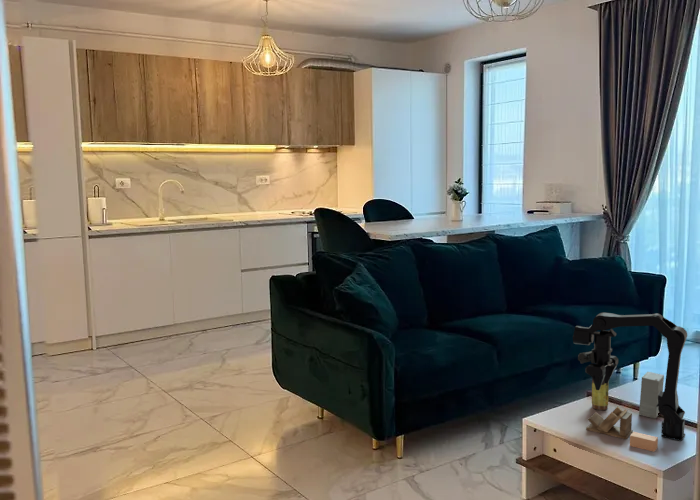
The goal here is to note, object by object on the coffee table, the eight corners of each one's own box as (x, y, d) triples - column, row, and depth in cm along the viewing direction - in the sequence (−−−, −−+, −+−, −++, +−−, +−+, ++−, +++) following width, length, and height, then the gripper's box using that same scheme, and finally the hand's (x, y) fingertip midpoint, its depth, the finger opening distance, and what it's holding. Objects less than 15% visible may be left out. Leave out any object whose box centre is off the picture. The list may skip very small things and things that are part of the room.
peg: (657, 448, 220) (657, 437, 219) (654, 452, 216) (654, 441, 216) (633, 442, 225) (633, 431, 224) (629, 446, 221) (630, 435, 221)
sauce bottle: (609, 411, 253) (610, 362, 250) (592, 410, 254) (594, 362, 252) (606, 405, 259) (607, 358, 257) (590, 404, 260) (591, 357, 258)
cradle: (632, 432, 232) (633, 409, 231) (626, 439, 227) (627, 416, 226) (593, 423, 241) (593, 401, 240) (586, 429, 236) (586, 407, 235)
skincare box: (644, 408, 255) (645, 370, 253) (663, 412, 250) (665, 374, 248) (637, 415, 248) (639, 376, 246) (657, 419, 244) (659, 379, 242)
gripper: (589, 338, 251) (589, 376, 253) (571, 349, 237) (571, 389, 239) (618, 342, 244) (618, 381, 246) (602, 353, 230) (601, 395, 232)
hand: (602, 386), depth 241 cm, fingers open, 9 cm apart
